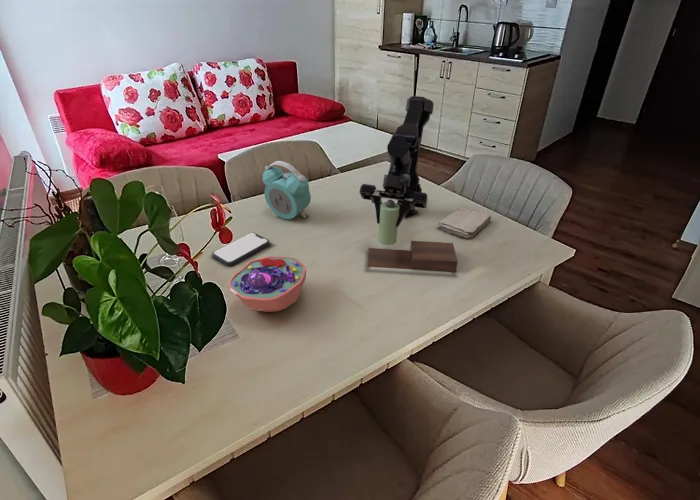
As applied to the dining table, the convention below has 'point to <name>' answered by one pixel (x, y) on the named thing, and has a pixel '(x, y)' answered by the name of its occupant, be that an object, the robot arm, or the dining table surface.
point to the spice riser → (416, 257)
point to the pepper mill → (388, 222)
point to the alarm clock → (286, 191)
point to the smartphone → (240, 249)
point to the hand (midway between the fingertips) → (387, 225)
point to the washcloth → (464, 222)
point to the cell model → (269, 283)
